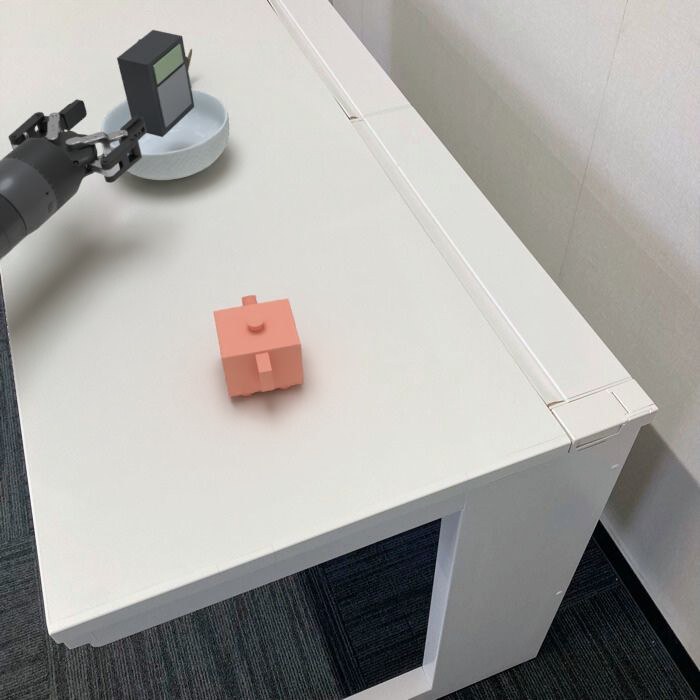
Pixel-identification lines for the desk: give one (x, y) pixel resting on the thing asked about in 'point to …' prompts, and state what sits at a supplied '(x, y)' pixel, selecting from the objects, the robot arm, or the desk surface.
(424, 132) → the desk surface
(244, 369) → the pink cube teapot
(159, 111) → the calculator
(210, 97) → the cereal bowl
